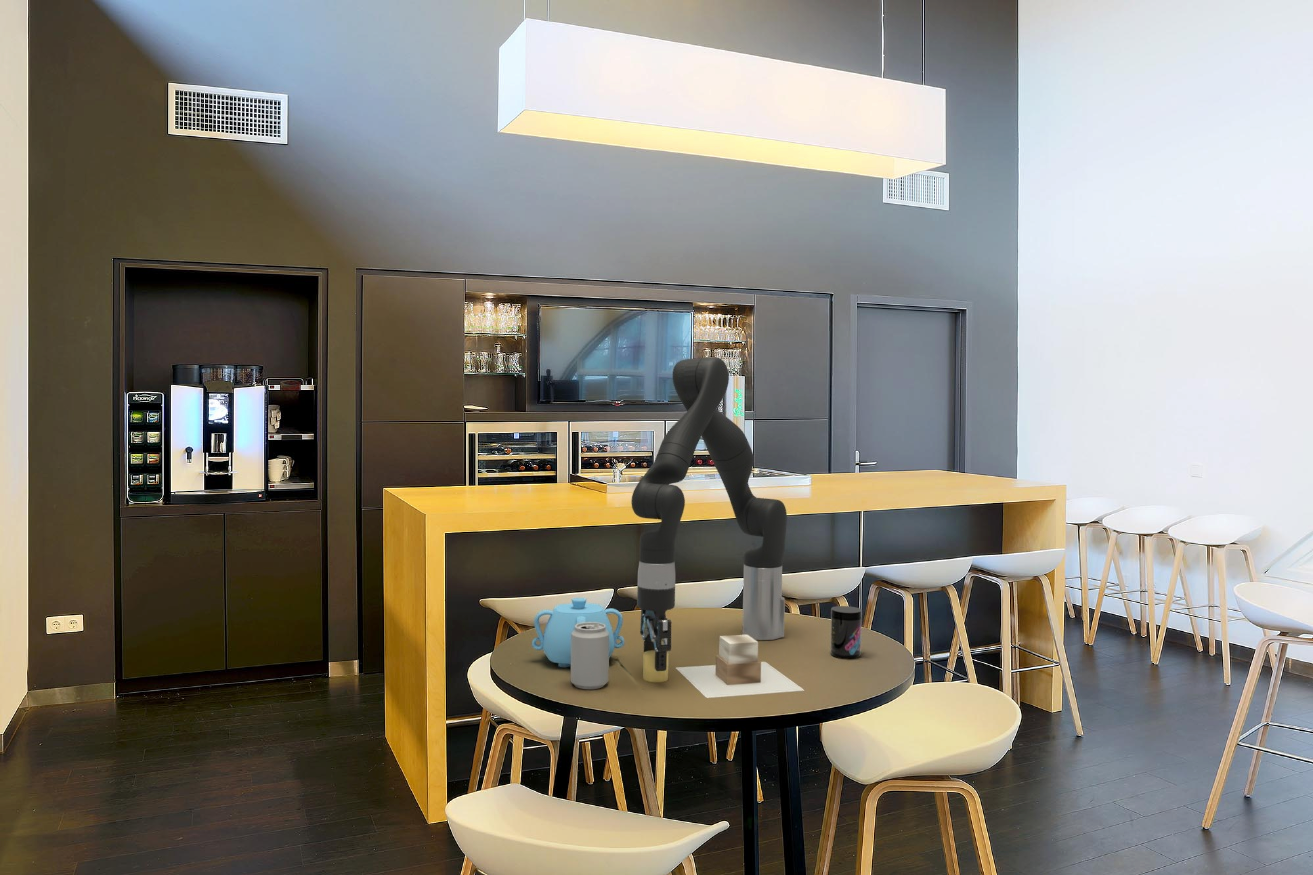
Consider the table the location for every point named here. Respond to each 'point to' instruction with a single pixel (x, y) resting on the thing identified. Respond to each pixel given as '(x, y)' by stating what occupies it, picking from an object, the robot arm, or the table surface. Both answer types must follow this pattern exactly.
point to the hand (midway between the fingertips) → (654, 664)
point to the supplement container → (846, 632)
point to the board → (716, 687)
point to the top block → (738, 649)
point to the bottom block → (738, 672)
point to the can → (589, 655)
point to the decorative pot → (572, 628)
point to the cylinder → (653, 668)
